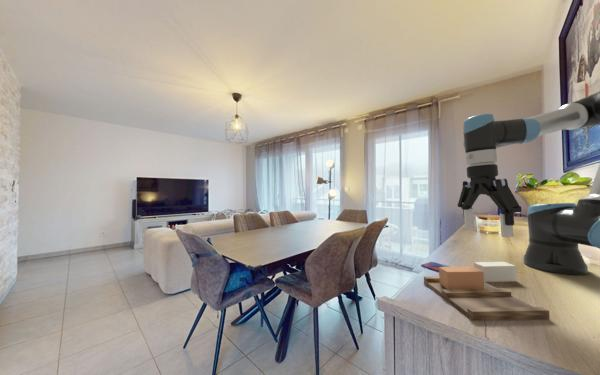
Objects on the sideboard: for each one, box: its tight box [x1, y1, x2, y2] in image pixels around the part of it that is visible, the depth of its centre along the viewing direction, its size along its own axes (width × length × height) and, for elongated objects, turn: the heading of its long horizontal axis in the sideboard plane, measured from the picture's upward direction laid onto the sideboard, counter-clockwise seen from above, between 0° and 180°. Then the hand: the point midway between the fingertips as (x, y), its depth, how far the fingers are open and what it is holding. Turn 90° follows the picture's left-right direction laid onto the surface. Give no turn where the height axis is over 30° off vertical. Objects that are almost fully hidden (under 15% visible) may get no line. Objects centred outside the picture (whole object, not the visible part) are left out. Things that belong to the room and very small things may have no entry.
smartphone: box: [420, 261, 451, 273], centre depth 79 cm, size 7×15×1 cm, turn 25°
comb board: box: [423, 275, 551, 322], centre depth 59 cm, size 17×20×2 cm
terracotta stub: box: [438, 266, 484, 289], centre depth 64 cm, size 10×4×5 cm, turn 88°
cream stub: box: [473, 261, 517, 283], centre depth 71 cm, size 10×4×5 cm, turn 89°
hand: (486, 232), depth 68 cm, fingers open, 13 cm apart
